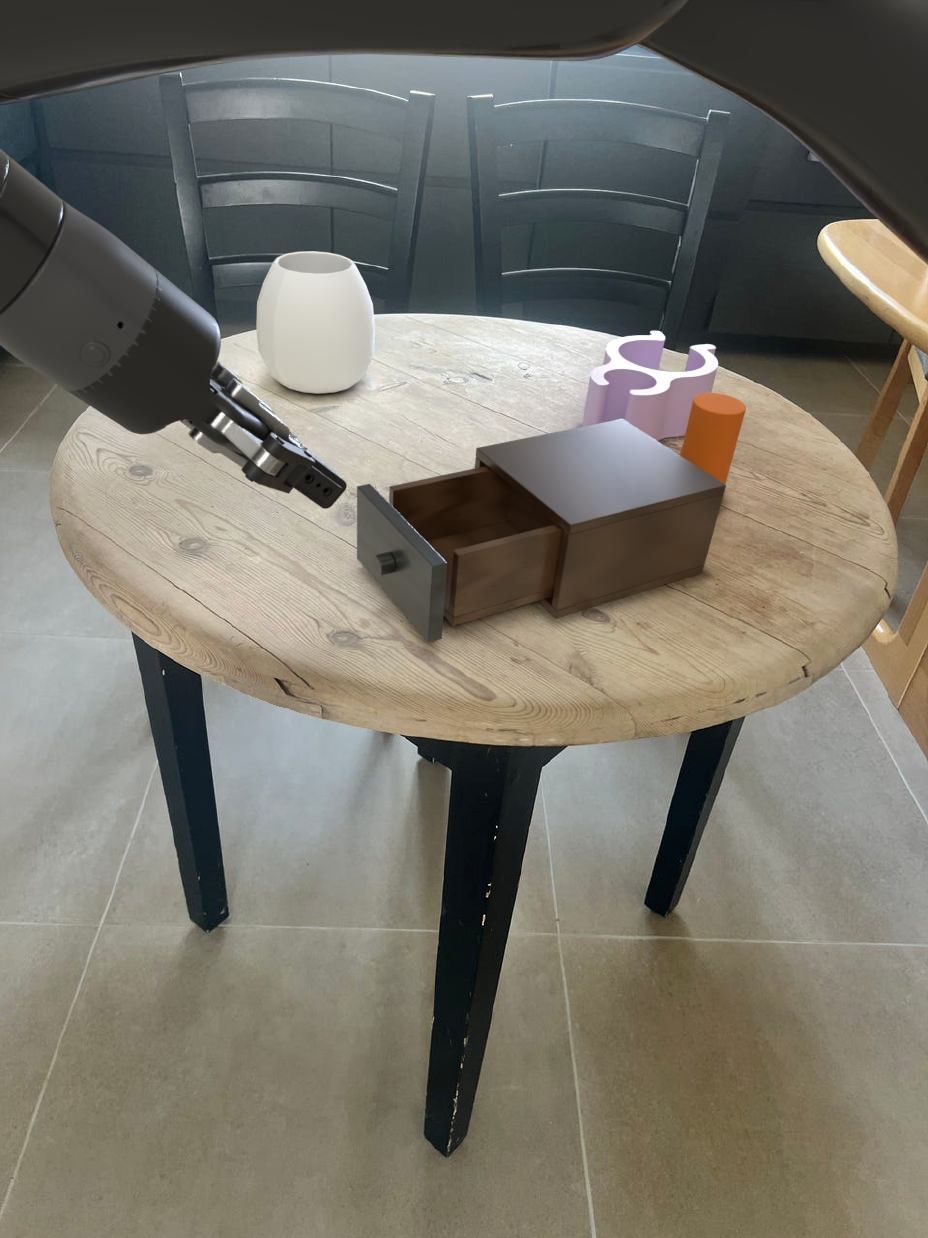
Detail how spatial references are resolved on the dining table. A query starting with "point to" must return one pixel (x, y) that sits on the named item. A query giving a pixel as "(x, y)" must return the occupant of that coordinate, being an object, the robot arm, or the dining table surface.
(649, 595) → the dining table surface
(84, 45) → the robot arm
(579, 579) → the cabinet
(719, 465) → the roller
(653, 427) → the clip
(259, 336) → the white vase
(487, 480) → the drawer
